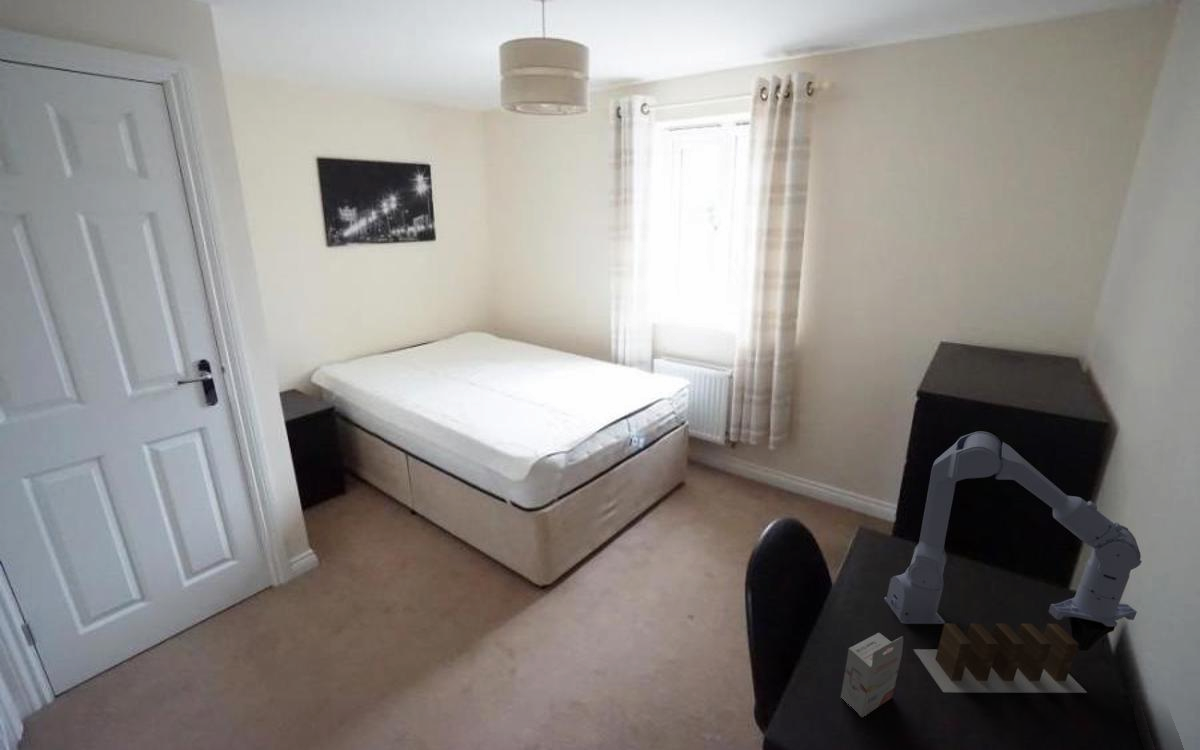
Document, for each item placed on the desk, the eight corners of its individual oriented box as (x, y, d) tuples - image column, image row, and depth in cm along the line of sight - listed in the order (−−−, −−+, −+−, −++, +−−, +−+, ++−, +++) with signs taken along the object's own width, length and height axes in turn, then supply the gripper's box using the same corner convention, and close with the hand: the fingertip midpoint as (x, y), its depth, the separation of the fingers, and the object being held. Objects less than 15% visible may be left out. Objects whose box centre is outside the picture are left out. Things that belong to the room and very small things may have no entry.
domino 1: (950, 680, 102) (961, 643, 99) (935, 659, 107) (944, 623, 104) (961, 680, 102) (971, 643, 99) (945, 659, 107) (954, 623, 104)
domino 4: (1029, 680, 102) (1041, 643, 99) (1009, 659, 107) (1021, 623, 104) (1039, 680, 102) (1052, 643, 99) (1019, 659, 107) (1031, 623, 104)
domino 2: (976, 680, 102) (987, 643, 99) (960, 659, 107) (970, 623, 104) (987, 680, 102) (998, 643, 99) (970, 659, 107) (980, 623, 104)
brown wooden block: (1055, 681, 102) (1068, 643, 99) (1035, 659, 107) (1046, 623, 104) (1065, 681, 102) (1078, 644, 99) (1045, 659, 107) (1057, 623, 104)
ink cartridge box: (868, 679, 103) (881, 617, 98) (892, 699, 98) (907, 636, 94) (838, 697, 99) (850, 634, 94) (861, 719, 95) (875, 654, 90)
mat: (942, 693, 100) (943, 692, 99) (912, 650, 109) (913, 649, 109) (1086, 694, 100) (1087, 692, 99) (1044, 651, 109) (1044, 649, 109)
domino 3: (1002, 680, 102) (1014, 643, 99) (985, 659, 107) (995, 623, 104) (1013, 680, 102) (1025, 643, 99) (994, 659, 107) (1005, 623, 104)
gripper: (1080, 603, 94) (1059, 663, 99) (1161, 604, 94) (1137, 663, 99) (1048, 577, 101) (1030, 634, 105) (1124, 577, 101) (1102, 634, 105)
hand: (1079, 646), depth 102 cm, fingers closed
